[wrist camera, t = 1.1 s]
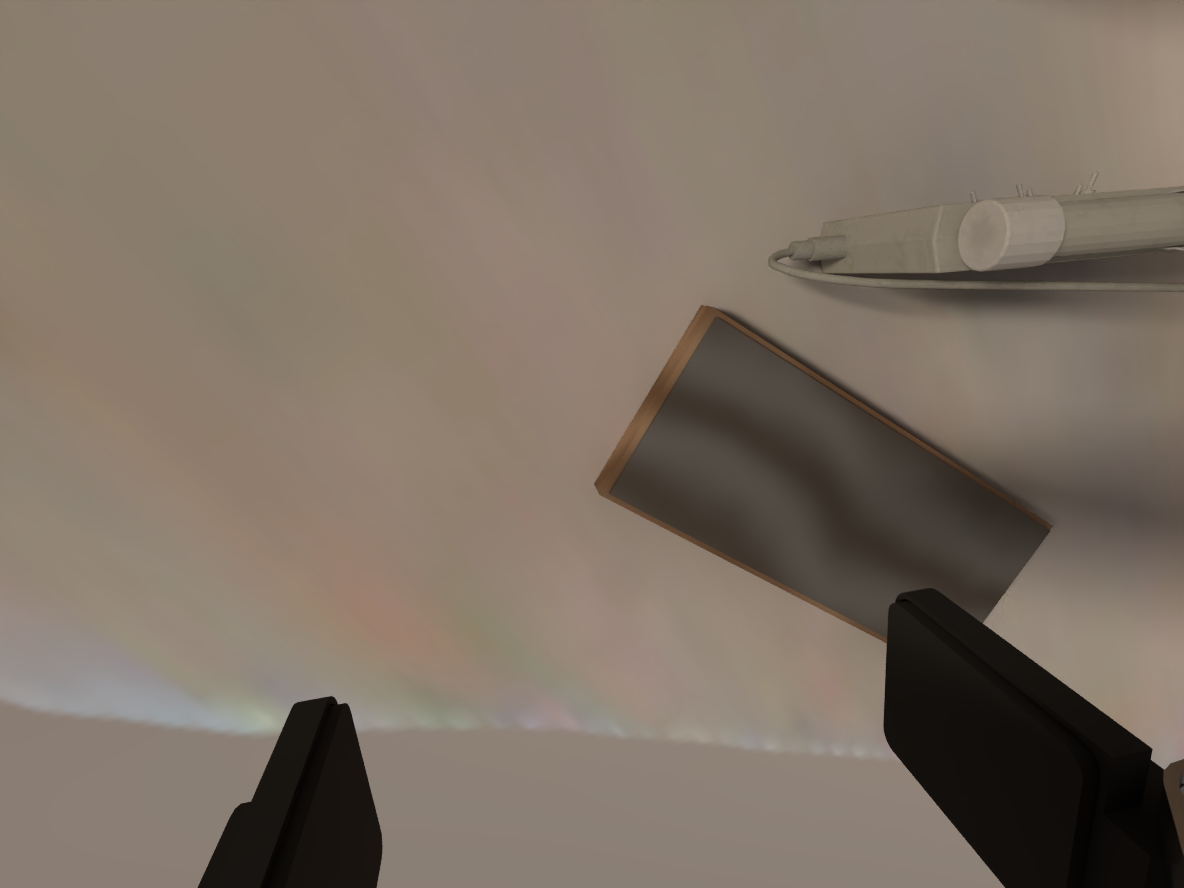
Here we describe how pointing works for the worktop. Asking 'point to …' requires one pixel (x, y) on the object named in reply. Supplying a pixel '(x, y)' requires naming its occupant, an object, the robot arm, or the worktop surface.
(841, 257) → the geiger counter
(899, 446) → the brown wooden board
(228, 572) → the worktop surface
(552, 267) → the worktop surface
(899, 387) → the worktop surface
